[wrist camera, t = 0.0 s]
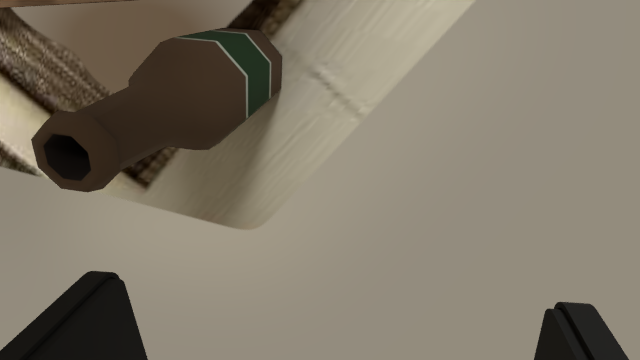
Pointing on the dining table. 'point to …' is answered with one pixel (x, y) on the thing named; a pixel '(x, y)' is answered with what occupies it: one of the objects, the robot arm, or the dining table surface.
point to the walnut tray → (46, 2)
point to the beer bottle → (163, 107)
